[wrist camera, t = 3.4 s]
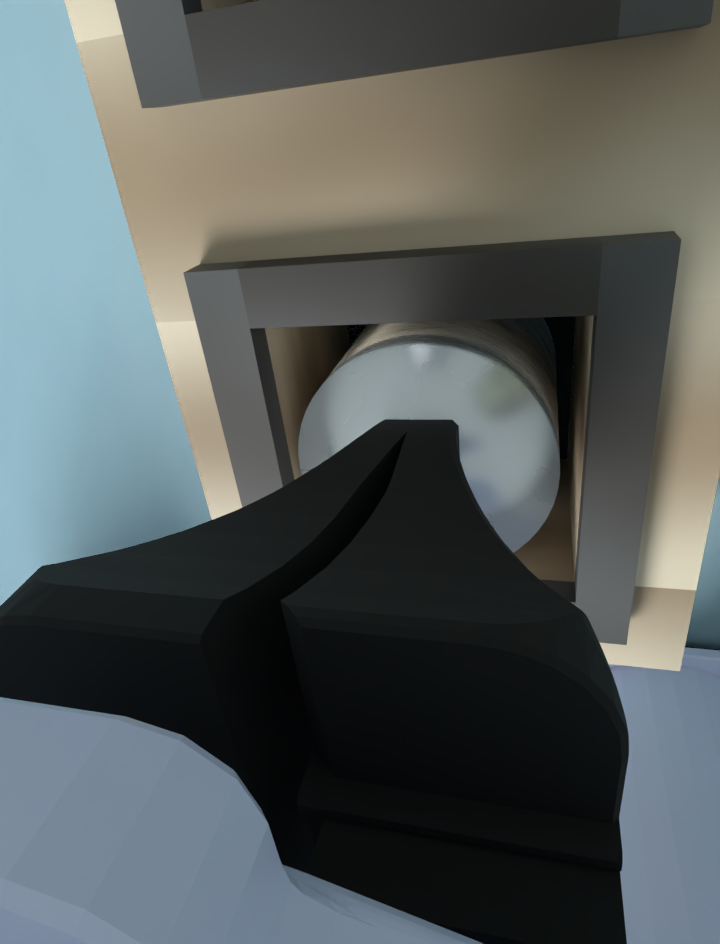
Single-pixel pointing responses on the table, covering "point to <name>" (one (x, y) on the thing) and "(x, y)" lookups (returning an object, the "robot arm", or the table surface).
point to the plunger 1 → (455, 407)
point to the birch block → (440, 239)
